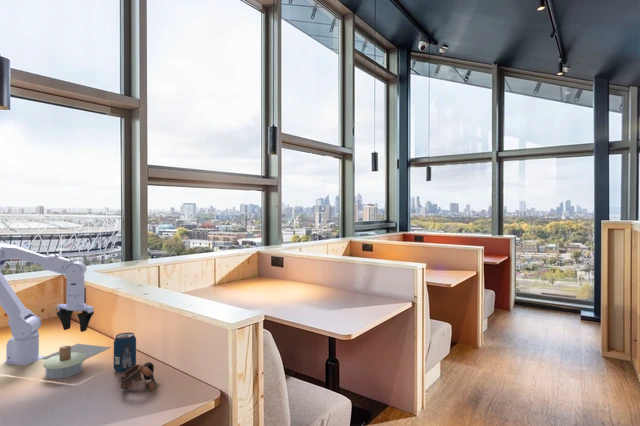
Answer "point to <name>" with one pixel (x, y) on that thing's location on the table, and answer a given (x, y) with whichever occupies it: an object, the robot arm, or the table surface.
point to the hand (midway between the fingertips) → (75, 330)
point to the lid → (64, 359)
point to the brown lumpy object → (139, 375)
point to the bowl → (63, 372)
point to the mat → (83, 350)
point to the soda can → (124, 352)
